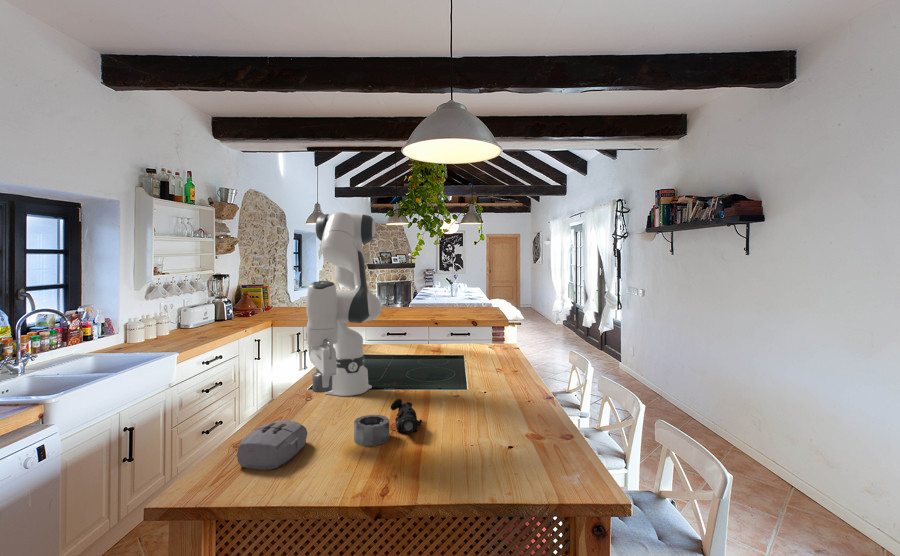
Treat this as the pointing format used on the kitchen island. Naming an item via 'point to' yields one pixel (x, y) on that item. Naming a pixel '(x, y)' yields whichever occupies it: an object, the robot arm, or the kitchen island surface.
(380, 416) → the grey faceted round container
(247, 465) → the grey rounded bag
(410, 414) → the night vision scope
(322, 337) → the robot arm
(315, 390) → the white-tipped grey cylinder
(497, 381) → the kitchen island surface
